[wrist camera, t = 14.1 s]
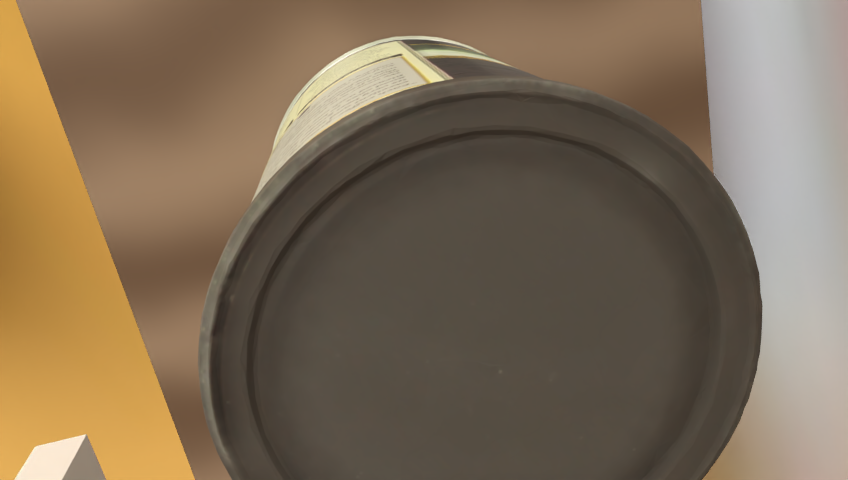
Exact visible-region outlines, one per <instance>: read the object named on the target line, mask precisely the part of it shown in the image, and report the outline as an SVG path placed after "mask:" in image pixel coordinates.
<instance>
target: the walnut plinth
mask: <svg viewBox="0 0 848 480" xmlns="http://www.w3.org/2000/svg"><path fill="white" fill-rule="evenodd" d="M16 2H17V4H18V7H19V10H20V12H21V15H22V18H23V20H24V23H25V26H26V28H27V31H28V34H29V37H30V39H31V42H32V45H33V47H34V50H35V53H36V55H37V58H38V61H39V63H40V66H41V69H42V71H43V74H44V77H45V79H46V82H47V85H48V87H49V90H50V93H51V95H52V98H53V101H54V103H55V106H56V109H57V111H58V114H59V117H60V119H61V122H62V125H63V127H64V130H65V133H66V135H67V138H68V141H69V143H70V146H71V149H72V151H73V154H74V157H75V159H76V162H77V165H78V167H79V170H80V173H81V175H82V178H83V181H84V184H85V186H86V189H87V192H88V194H89V197H90V200H91V202H92V205H93V208H94V210H95V213H96V216H97V218H98V221H99V224H100V226H101V229H102V232H103V234H104V237H105V240H106V242H107V245H108V248H109V250H110V253H111V256H112V258H113V261H114V264H115V266H116V269H117V272H118V274H119V277H120V280H121V282H122V285H123V288H124V290H125V293H126V296H127V298H128V301H129V304H130V306H131V309H132V312H133V314H134V317H135V320H136V323H137V325H138V328H139V331H140V333H141V336H142V339H143V341H144V344H145V347H146V349H147V352H148V355H149V357H150V360H151V363H152V365H153V368H154V371H155V373H156V376H157V379H158V381H159V384H160V387H161V389H162V392H163V395H164V397H165V400H166V403H167V405H168V408H169V411H170V413H171V416H172V419H173V421H174V424H175V427H176V429H177V432H178V435H179V437H180V440H181V443H182V445H183V448H184V451H185V453H186V456H187V459H188V461H189V464H190V467H191V470H192V472H193V475H194V478H195V480H232V479H231V477H230V475H229V474H228V472H227V470H226V468H225V466H224V465H223V463H222V461H221V459H220V457H219V455H218V453H217V451H216V448H215V446H214V443H213V440H212V438H211V435H210V432H209V429H208V426H207V423H206V419H205V414H204V409H203V404H202V399H201V392H200V383H199V372H198V347H199V335H200V324H201V317H202V312H203V308H204V304H205V299H206V295H207V291H208V288H209V285H210V282H211V278H212V276H213V273H214V271H215V269H216V266H217V264H218V262H219V259H220V257H221V255H222V253H223V250H224V248H225V246H226V243H227V241H228V239H229V237H230V236H231V234H232V232H233V230H234V229H235V227H236V225H237V224H238V222H239V220H240V218H241V217H242V216H243V214H244V213H245V211H246V210H247V208H248V207H249V206H250V204H251V202H252V200H253V197H254V195H255V193H256V190H257V188H258V185H259V183H260V180H261V177H262V175H263V172H264V170H265V168H266V165H267V163H268V160H269V158H270V155H271V153H272V150H273V145H274V141H275V138H276V135H277V131H278V129H279V126H280V124H281V122H282V120H283V118H284V115H285V113H286V111H287V110H288V108H289V106H290V104H291V103H292V101H293V100H294V98H295V97H296V95H297V94H298V93H299V92H300V91H301V90H302V88H303V87H304V86H305V85H306V84H307V83H308V82H309V80H311V79H312V78H313V77H314V76H315V75H316V74H317V73H318V72H319V71H321V70H322V69H323V68H324V67H325V66H327V65H328V64H329V63H331V62H332V61H334V60H335V59H337V58H339V57H340V56H342V55H344V54H345V53H347V52H349V51H351V50H353V49H355V48H358V47H360V46H363V45H365V44H368V43H371V42H374V41H377V40H381V39H386V38H391V37H399V36H429V37H438V38H443V39H448V40H452V41H455V42H459V43H461V44H465V45H468V46H471V47H473V48H475V49H477V50H479V51H481V52H483V53H485V54H486V55H488V56H489V57H491V58H494V59H496V60H498V61H501V62H503V63H505V64H508V65H510V66H512V67H515V68H517V69H520V70H522V71H525V72H528V73H530V74H532V75H535V76H537V77H540V78H542V79H547V80H552V81H558V82H563V83H567V84H571V85H574V86H578V87H581V88H585V89H588V90H591V91H594V92H596V93H599V94H601V95H604V96H606V97H609V98H611V99H614V100H616V101H619V102H621V103H623V104H625V105H628V106H630V107H632V108H634V109H635V110H637V111H639V112H641V113H643V114H645V115H647V116H648V117H650V118H651V119H652V120H654V121H655V122H657V123H658V124H660V125H661V126H663V127H664V128H666V129H667V130H668V131H669V132H671V133H672V134H673V135H675V136H676V137H677V138H679V139H680V140H681V141H683V142H684V143H685V144H686V145H688V146H689V147H690V148H691V149H692V151H693V152H694V153H695V154H696V155H697V156H698V157H699V158H700V159H701V160H702V161H703V162H704V163H705V165H706V166H707V167H708V168H709V170H710V171H711V172H712V173H713V161H712V148H711V134H710V121H709V107H708V94H707V80H706V67H705V53H704V40H703V26H702V12H701V0H16Z"/></svg>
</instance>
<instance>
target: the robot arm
mask: <svg viewBox="0 0 848 480" xmlns="http://www.w3.org/2000/svg"><path fill="white" fill-rule="evenodd" d="M14 480H106V478H105V476H104V474H103V471H102V469H101V467H100V464H99V462H98V460H97V457H96V455H95V453H94V450H93V448H92V446H91V444H90V441H89V439H88V437H87V434H86V435H82V436H77V437H73V438H69V439H65V440H61V441H56V442H52V443H48V444H44V445H40V446H35V448H34V450H33V451H32V453H31V454H30V456H29V457H28V459H27V461H26V462H25V464H24V465H23V467H22V468H21V470H20V472H19V473H18V475H17V476H16V478H15V479H14Z"/></svg>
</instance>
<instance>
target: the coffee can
mask: <svg viewBox="0 0 848 480" xmlns="http://www.w3.org/2000/svg"><path fill="white" fill-rule="evenodd" d="M761 329H762V300H761V294H760V280H759V272H758V268H757V264H756V260H755V256H754V252H753V249H752V246H751V243H750V240H749V238H748V235H747V232H746V229H745V227H744V225H743V222H742V220H741V218H740V216H739V214H738V212H737V210H736V208H735V206H734V204H733V202H732V200H731V199H730V197H729V196H728V194H727V192H726V191H725V189H724V188H723V187H722V185H721V184H720V183H719V181H718V180H717V179H716V177H715V176H714V175H713V173H712V172H711V171H710V170H709V168H708V167H707V166H706V165H705V163H704V162H703V161H702V160H701V159H700V158H699V157H698V156H697V155H696V154H695V153H694V152H693V151H692V149H691V148H690V147H689V146H688V145H686V144H685V143H684V142H683V141H681V140H680V139H679V138H677V137H676V136H675V135H673V134H672V133H671V132H669V131H668V130H667V129H666V128H664V127H663V126H661V125H660V124H658V123H657V122H655V121H654V120H652V119H651V118H650V117H648V116H647V115H645V114H643V113H641V112H639V111H637V110H635V109H634V108H632V107H630V106H628V105H625V104H623V103H621V102H619V101H616V100H614V99H611V98H609V97H606V96H604V95H601V94H599V93H596V92H594V91H591V90H588V89H585V88H581V87H578V86H574V85H571V84H567V83H563V82H558V81H552V80H547V79H542V78H540V77H537V76H535V75H532V74H530V73H528V72H525V71H522V70H520V69H517V68H515V67H512V66H510V65H508V64H505V63H503V62H501V61H498V60H496V59H494V58H491V57H489V56H488V55H486V54H485V53H483V52H481V51H479V50H477V49H475V48H473V47H471V46H468V45H465V44H461V43H459V42H455V41H452V40H448V39H443V38H438V37H429V36H399V37H391V38H386V39H381V40H377V41H374V42H371V43H368V44H365V45H363V46H360V47H358V48H355V49H353V50H351V51H349V52H347V53H345V54H344V55H342V56H340V57H339V58H337V59H335V60H334V61H332V62H331V63H329V64H328V65H327V66H325V67H324V68H323V69H322V70H321V71H319V72H318V73H317V74H316V75H315V76H314V77H313V78H312V79H311V80H309V82H308V83H307V84H306V85H305V86H304V87H303V88H302V90H301V91H300V92H299V93H298V94H297V95H296V97H295V98H294V100H293V101H292V103H291V104H290V106H289V108H288V110H287V111H286V113H285V115H284V118H283V120H282V122H281V124H280V126H279V129H278V131H277V135H276V138H275V141H274V145H273V150H272V153H271V155H270V158H269V160H268V163H267V165H266V168H265V170H264V172H263V175H262V177H261V180H260V183H259V185H258V188H257V190H256V193H255V195H254V197H253V200H252V202H251V204H250V206H249V207H248V208H247V210H246V211H245V213H244V214H243V216H242V217H241V218H240V220H239V222H238V224H237V225H236V227H235V229H234V230H233V232H232V234H231V236H230V237H229V239H228V241H227V243H226V246H225V248H224V250H223V253H222V255H221V257H220V259H219V262H218V264H217V266H216V269H215V271H214V273H213V276H212V278H211V282H210V285H209V288H208V291H207V295H206V299H205V304H204V308H203V312H202V317H201V324H200V335H199V347H198V372H199V383H200V392H201V399H202V404H203V409H204V414H205V419H206V423H207V426H208V429H209V432H210V435H211V438H212V440H213V443H214V446H215V448H216V451H217V453H218V455H219V457H220V459H221V461H222V463H223V465H224V466H225V468H226V470H227V472H228V474H229V475H230V477H231V479H232V480H702V479H703V478H704V477H705V475H706V474H707V473H708V471H709V470H710V468H711V467H712V466H713V464H714V463H715V461H716V460H717V459H718V457H719V456H720V454H721V453H722V451H723V449H724V448H725V446H726V445H727V443H728V442H729V440H730V438H731V436H732V434H733V433H734V431H735V429H736V427H737V425H738V423H739V421H740V419H741V416H742V413H743V410H744V408H745V406H746V403H747V401H748V399H749V395H750V392H751V388H752V385H753V381H754V378H755V374H756V371H757V362H758V358H759V353H760V344H761Z"/></svg>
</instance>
